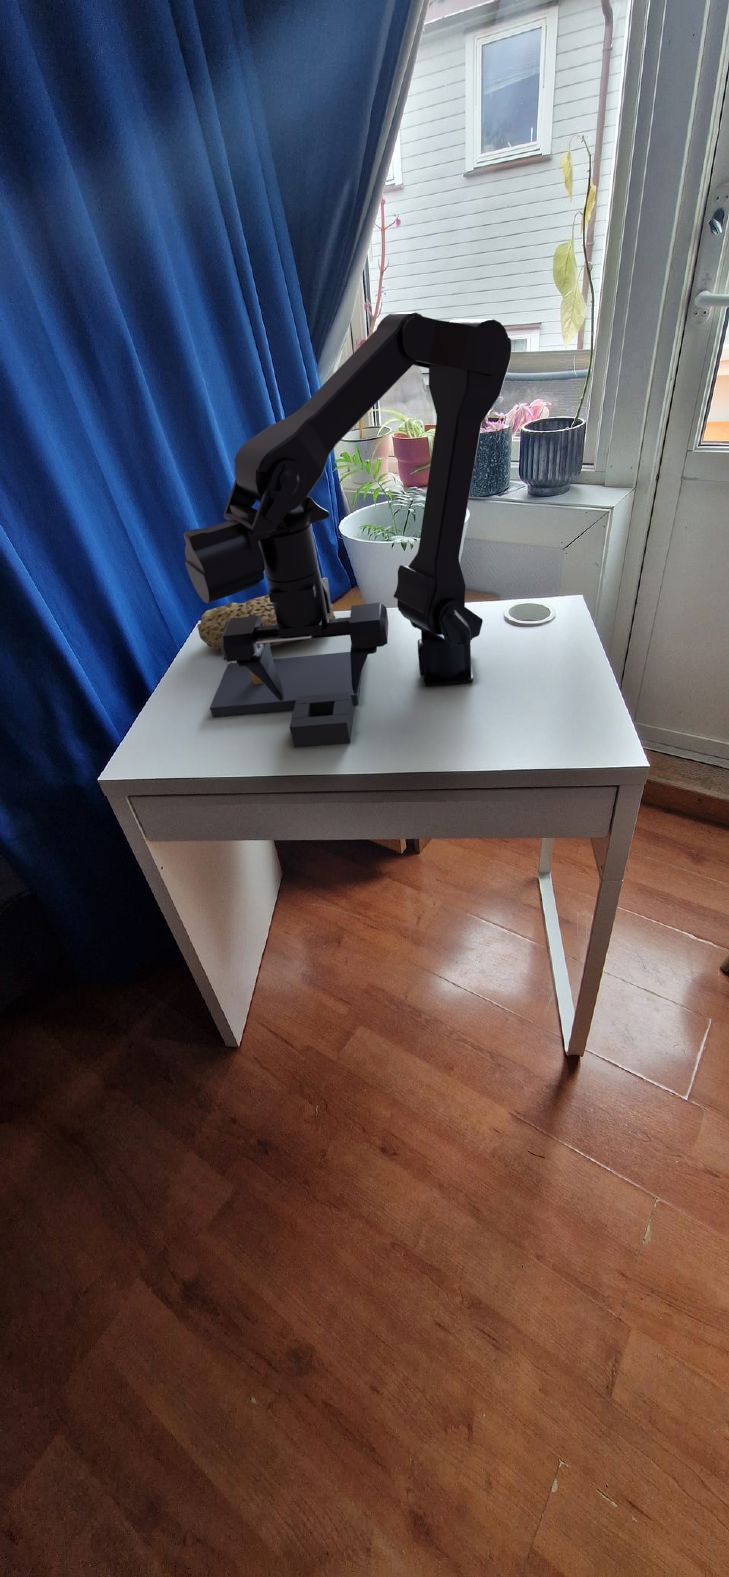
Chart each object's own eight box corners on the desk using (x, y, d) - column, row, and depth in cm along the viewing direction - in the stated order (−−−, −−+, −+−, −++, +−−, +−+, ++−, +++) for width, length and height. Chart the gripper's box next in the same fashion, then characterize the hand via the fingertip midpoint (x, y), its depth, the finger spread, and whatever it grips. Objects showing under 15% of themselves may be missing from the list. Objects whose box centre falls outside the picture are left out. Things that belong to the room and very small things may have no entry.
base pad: (362, 659, 95) (359, 634, 92) (358, 704, 86) (354, 678, 83) (230, 672, 97) (223, 648, 95) (212, 717, 88) (204, 692, 86)
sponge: (204, 666, 103) (313, 646, 94) (185, 617, 99) (296, 592, 91) (245, 640, 113) (347, 620, 104) (230, 596, 110) (333, 571, 101)
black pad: (353, 711, 85) (350, 691, 83) (350, 742, 79) (346, 722, 77) (301, 715, 86) (296, 696, 84) (294, 747, 80) (289, 727, 78)
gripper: (381, 534, 74) (395, 655, 84) (224, 553, 77) (256, 669, 87) (378, 572, 66) (394, 702, 76) (201, 592, 68) (239, 716, 78)
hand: (318, 695), depth 79 cm, fingers open, 9 cm apart
